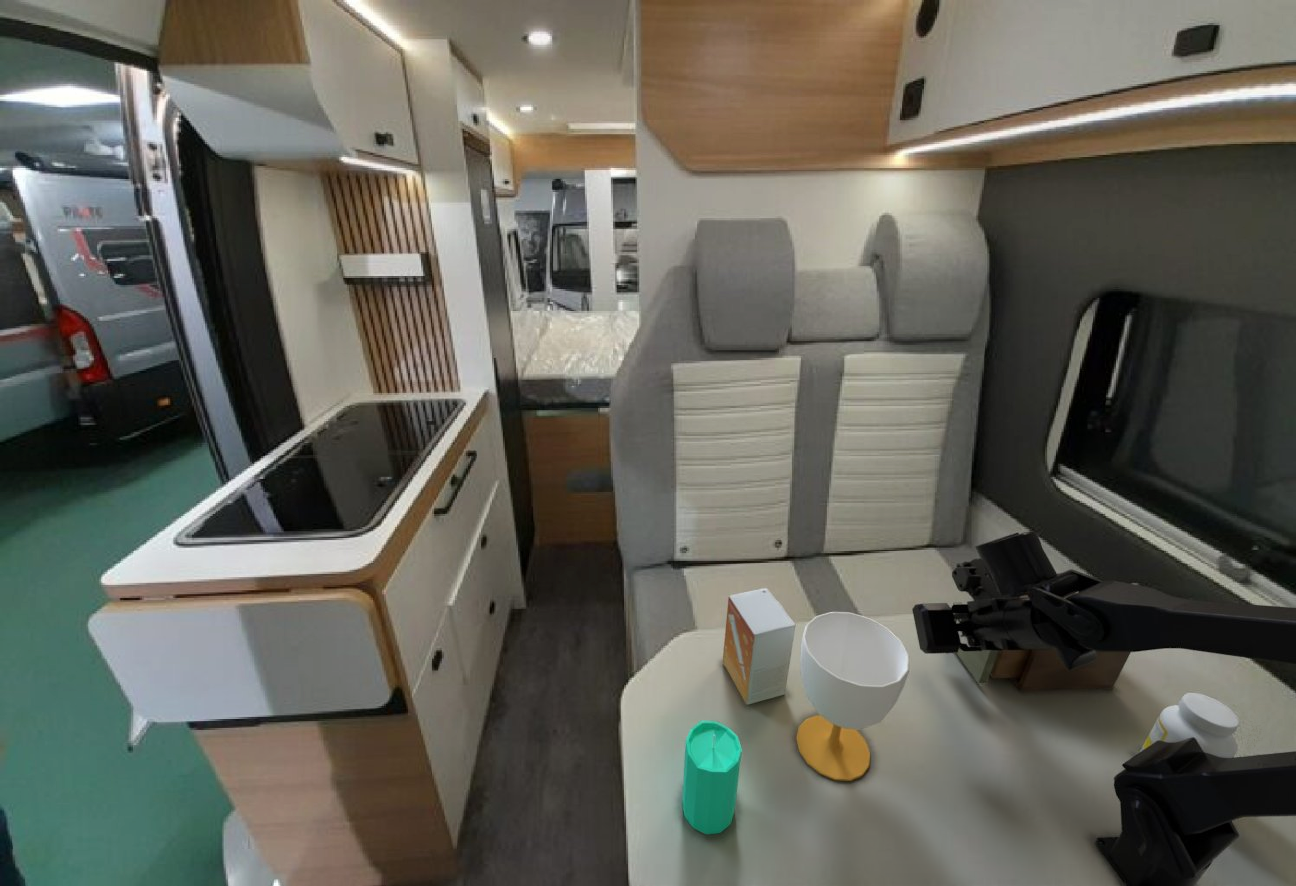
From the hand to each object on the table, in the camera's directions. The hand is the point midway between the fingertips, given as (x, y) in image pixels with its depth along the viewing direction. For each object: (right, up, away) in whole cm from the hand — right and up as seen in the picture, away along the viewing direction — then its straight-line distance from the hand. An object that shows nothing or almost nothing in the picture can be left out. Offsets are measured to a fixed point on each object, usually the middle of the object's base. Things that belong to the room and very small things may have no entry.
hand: (952, 628), depth 79 cm
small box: (-30, -7, 0) cm, 30 cm away
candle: (-38, -15, -17) cm, 44 cm away
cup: (-21, -12, -10) cm, 26 cm away
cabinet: (+15, -6, +3) cm, 17 cm away
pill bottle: (+19, -14, -13) cm, 27 cm away
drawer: (+6, -5, +3) cm, 9 cm away
